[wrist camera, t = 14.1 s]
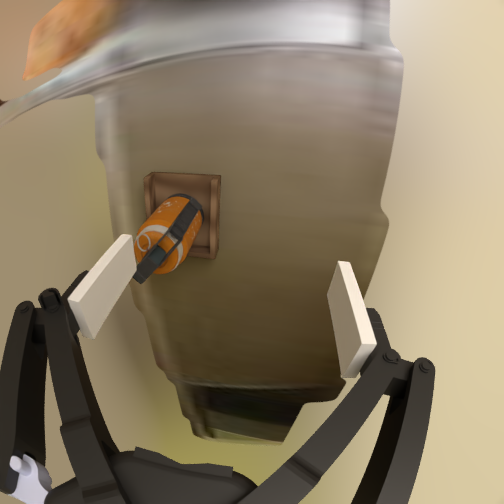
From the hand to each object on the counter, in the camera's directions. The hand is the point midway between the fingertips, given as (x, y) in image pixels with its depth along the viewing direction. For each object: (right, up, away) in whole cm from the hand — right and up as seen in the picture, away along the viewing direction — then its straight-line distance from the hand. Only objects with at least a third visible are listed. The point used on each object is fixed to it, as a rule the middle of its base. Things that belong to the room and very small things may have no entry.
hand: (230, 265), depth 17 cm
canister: (-12, +9, +37) cm, 40 cm away
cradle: (-12, +9, +38) cm, 41 cm away
